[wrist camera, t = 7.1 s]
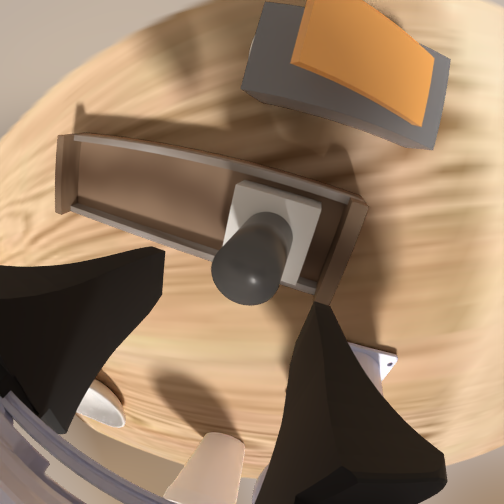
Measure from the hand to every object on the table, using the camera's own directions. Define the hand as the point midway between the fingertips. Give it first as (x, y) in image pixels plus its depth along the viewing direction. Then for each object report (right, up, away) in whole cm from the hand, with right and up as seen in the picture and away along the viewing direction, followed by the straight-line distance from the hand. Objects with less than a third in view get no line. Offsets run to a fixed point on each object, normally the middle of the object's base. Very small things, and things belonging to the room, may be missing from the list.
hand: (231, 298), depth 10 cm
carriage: (+2, +3, +8) cm, 9 cm away
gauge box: (+7, +13, +5) cm, 15 cm away
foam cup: (-3, -26, +24) cm, 36 cm away
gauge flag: (+6, +10, -2) cm, 11 cm away
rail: (-4, +6, +10) cm, 13 cm away
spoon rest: (-30, -22, +29) cm, 47 cm away
